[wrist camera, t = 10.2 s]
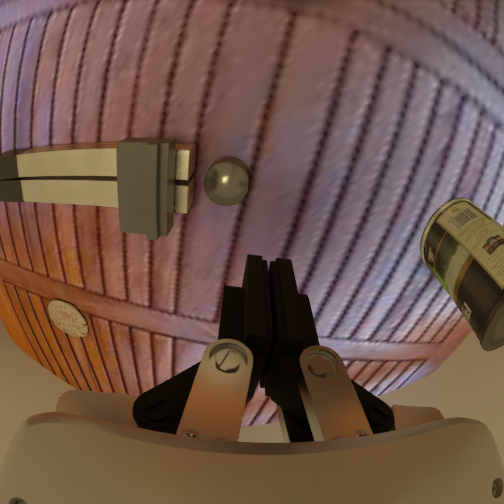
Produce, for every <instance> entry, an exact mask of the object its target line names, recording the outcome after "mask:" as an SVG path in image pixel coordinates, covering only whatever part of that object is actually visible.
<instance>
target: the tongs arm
mask: <svg viewBox="0 0 504 504" xmlns="http://www.w3.org/2000/svg"><path fill="white" fill-rule="evenodd" d="M196 147H197V144H189V143H176V152H175V171H174V179H178V180H188V179H189V178H190V176H191V175H192V174H193V172H194V171H195V161H196ZM34 176H117V161H116V142H97V143H77V144H64V145H52V146H43V147H34V148H33V147H31V148H23V149H16V150H10V151H7V152H4V153H2V154H0V179H9V178H19V177H34Z"/></svg>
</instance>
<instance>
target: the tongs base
mask: <svg viewBox="0 0 504 504" xmlns="http://www.w3.org/2000/svg"><path fill="white" fill-rule="evenodd" d="M194 181H195V176H190V178H189V179H188V180H178V179H174V202H173V212H176V213H186V214H187V212H188V210H189V208H190V206H191V204H192V202H193V198H194ZM248 186H249V172H248V169H247V167H246V165H245V164H244V163H243V162H242V161H241V160H239V159H237V158H235V157H230V156H227V157H222V158H219V159H217V160H216V161H215V162H214V163H213V164H212V165H211V167H210V168H209V170H208V172H207V174H206V176H205V178H204V190H205V193H206V195H207V196H208V197H209V199H210V200H212V201H213V202H215V203H216V204H219V205H223V206H230V205H234V204H236V203H238V202H240V201H241V200H242V199H243V198H244V197H245V196H246V194H247V191H248ZM0 201H5V202H24V201H25V202H46V203H64V204H80V205H95V206H108V207H118V191H117V176H34V177H19V178H9V179H0Z"/></svg>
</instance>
